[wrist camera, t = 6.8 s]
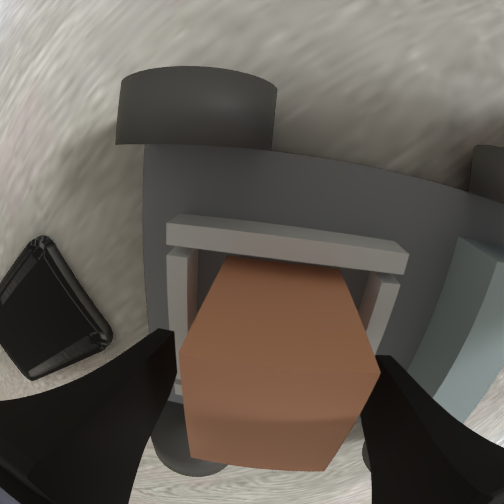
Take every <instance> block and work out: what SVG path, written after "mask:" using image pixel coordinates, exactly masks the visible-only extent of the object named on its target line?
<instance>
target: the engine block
mask: <svg viewBox="0 0 504 504" xmlns="http://www.w3.org/2000/svg"><path fill="white" fill-rule="evenodd" d="M179 364H180V376H181V386H182V395H183V404H184V413H185V421H186V428H187V435H188V442H189V449H190V455H191V457H192V458H196V459H201V460H206V461H211V462H217V463H222V464H229V465H235V466H243V467H251V468H260V469H271V470H286V471H325V469H326V468H327V467H328V465H329V464H330V462H331V461H332V459H333V458H334V456H335V455H336V453H337V451H338V450H339V448H340V447H341V445H342V444H343V442H344V440H345V439H346V437H347V435H348V434H349V432H350V430H351V429H352V427H353V425H354V424H355V422H356V420H357V418H358V416H359V415H360V413H361V411H362V409H363V407H364V405H365V404H366V402H367V400H368V398H369V396H370V394H371V392H372V390H373V388H374V386H375V384H376V382H377V380H378V378H379V376H380V374H381V372H380V369H379V367H378V364H377V361H376V358H375V355H374V353H373V350H372V347H371V345H370V342H369V339H368V337H367V334H366V332H365V329H364V326H363V324H362V321H361V319H360V316H359V314H358V311H357V309H356V306H355V304H354V302H353V299H352V297H351V294H350V292H349V290H348V287H347V285H346V283H345V280H344V278H343V276H342V273H341V271H340V269H337V268H328V267H320V266H311V265H303V264H294V263H286V262H277V261H269V260H261V259H253V258H244V257H236V256H228V255H227V257H226V259H225V261H224V263H223V265H222V267H221V269H220V271H219V273H218V275H217V277H216V278H215V280H214V282H213V284H212V286H211V288H210V290H209V292H208V294H207V296H206V298H205V300H204V302H203V304H202V306H201V308H200V310H199V312H198V314H197V316H196V318H195V320H194V322H193V324H192V326H191V328H190V330H189V332H188V334H187V336H186V338H185V340H184V342H183V344H182V346H181V348H180V350H179Z"/></svg>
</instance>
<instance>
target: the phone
mask: <svg viewBox="0 0 504 504" xmlns="http://www.w3.org/2000/svg"><path fill="white" fill-rule="evenodd" d="M112 338H113V333H112V330H111V327H110V326H109V324H108V323H107V321H106V320H105V319H104V317H103V316H102V315H101V313H100V312H99V311H98V309H97V308H96V306H95V305H94V304H93V302H92V301H91V299H90V298H89V297H88V295H87V294H86V292H85V291H84V289H83V288H82V286H81V285H80V283H79V282H78V280H77V279H76V277H75V276H74V274H73V273H72V271H71V270H70V268H69V266H68V265H67V263H66V262H65V260H64V258H63V257H62V255H61V253H60V252H59V250H58V248H57V247H56V245H55V243H54V242H53V241H52V240H51V239H50V238H49V237H47V236H40V237H37V238H35V239H33V240H32V241H30V242H29V244H28V245H27V246H26V248H25V249H24V250H23V252H22V253H21V254H20V256H19V257H18V258H17V260H16V261H15V263H14V264H13V265H12V267H11V268H10V270H9V271H8V273H7V274H6V276H5V277H4V279H3V280H2V282H1V283H0V344H1V346H2V347H3V349H4V350H5V352H6V353H7V354H8V356H9V357H10V358H11V360H12V361H13V362H14V364H15V365H16V366H17V368H18V369H19V370H20V371H21V373H22V374H23V375H24V376H25V377H26V378H27V379H29V380H31V381H34V380H37V379H39V378H41V377H44V376H46V375H48V374H51V373H53V372H55V371H58V370H60V369H62V368H65V367H67V366H69V365H71V364H74V363H76V362H78V361H80V360H83V359H85V358H87V357H89V356H92V355H94V354H96V353H98V352H101V351H103V350H104V349H105V348H106V347H107V346H108V345H109V344H110V342H111V341H112Z"/></svg>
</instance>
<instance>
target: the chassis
mask: <svg viewBox="0 0 504 504" xmlns="http://www.w3.org/2000/svg"><path fill="white" fill-rule="evenodd" d="M276 97H277V88H276V87H275V86H274V85H273V84H271V83H270V82H268V81H266V80H264V79H262V78H259V77H256V76H253V75H250V74H246V73H242V72H238V71H233V70H228V69H221V68H213V67H200V66H174V67H162V68H155V69H148V70H144V71H140V72H137V73H134V74H131V75H129V76H127V77H125V78H124V79H123V80H122V82H121V90H120V98H119V107H118V117H117V128H116V143H115V145H120V144H145V149H144V169H143V254H144V274H145V289H146V302H147V313H148V323H149V332H150V334H151V333H152V332H153V331H155V330H156V329H158V328H161V329H166V330H171V331H174V333H175V348H176V361H177V375H176V378H175V381H174V385H173V387H172V390H171V393H170V396H169V398H168V400H167V402H166V404H165V406H164V408H163V411H162V413H161V415H160V417H159V419H158V421H157V423H156V425H155V427H154V429H153V431H152V433H151V435H150V436H151V439H152V442H153V445H154V448H155V451H156V454H157V456H158V458H159V459H160V460H161V462H162V463H163V464H164V465H165V466H167V467H168V468H169V469H171V470H173V471H174V472H177V473H179V474H182V475H186V476H192V477H203V476H208V475H212V474H215V473H217V472H219V471H221V470H222V469H224V468H225V467H226V466H227V465H228V464H222V463H217V462H211V461H206V460H201V459H196V458H192V457H191V455H190V449H189V442H188V435H187V428H186V421H185V413H184V404H183V395H182V386H181V376H180V364H179V350H180V348H181V346H182V344H183V342H184V340H185V338H186V336H187V334H188V332H189V330H190V328H191V326H192V324H193V322H194V320H195V318H196V316H197V314H198V312H199V310H200V308H201V306H202V304H203V302H204V300H205V298H206V296H207V294H208V292H209V290H210V288H211V286H212V284H213V282H214V280H215V278H216V277H217V275H218V273H219V271H220V269H221V267H222V265H223V263H224V261H225V259H226V257H227V255H228V256H236V257H244V258H253V259H261V260H269V261H277V262H286V263H294V264H303V265H311V266H320V267H328V268H337V269H340V271H341V273H342V276H343V278H344V280H345V283H346V285H347V287H348V290H349V292H350V294H351V297H352V299H353V302H354V304H355V306H356V309H357V311H358V314H359V316H360V319H361V321H362V324H363V326H364V329H365V332H366V334H367V337H368V339H369V342H370V345H371V347H372V350H373V353H374V355H375V356H376V355H391V356H392V357H393V358H394V359H395V360H396V361H397V362H398V363H399V364H400V365H401V366H402V367H403V368H404V369H405V370H406V371H407V372H408V373H409V374H410V375H411V377H412V378H413V379H414V380H415V381H416V382H417V383H418V384H419V385H420V386H421V387H422V388H423V389H424V390H425V391H426V392H427V393H428V394H429V395H430V396H431V397H432V398H433V399H434V400H435V401H436V402H437V403H438V404H439V405H441V406H442V407H443V408H444V409H445V410H446V411H447V412H448V413H450V414H451V415H452V416H453V417H455V418H456V419H457V420H458V421H460V422H461V423H462V424H463V423H464V422H465V420H466V419H467V418H468V417H469V415H470V414H471V413H472V412H473V410H474V409H475V408H476V406H477V405H478V403H479V402H480V401H481V399H482V398H483V396H484V395H485V394H486V392H487V391H488V389H489V388H490V386H491V385H492V383H493V382H494V380H495V378H496V377H497V375H498V374H499V372H500V370H501V369H502V367H503V365H504V148H501V147H496V146H489V145H477V146H474V151H473V160H472V168H471V175H470V182H469V188H468V192H466V191H463V190H460V189H457V188H453V187H450V186H446V185H443V184H440V183H436V182H432V181H429V180H425V179H421V178H417V177H413V176H409V175H405V174H401V173H397V172H393V171H388V170H384V169H379V168H375V167H370V166H365V165H360V164H355V163H349V162H344V161H338V160H332V159H326V158H320V157H314V156H307V155H300V154H292V153H284V152H276V151H271V145H272V135H273V126H274V116H275V107H276ZM356 422H361V417H360V415H359V416H358V418H357V420H356ZM362 456H363V460H364V463H365V465H366V466H367V468H368V469H369V471H370V472H371V468H370V461H369V456H368V451H367V446H366V441H365V442H364V444H363V448H362Z"/></svg>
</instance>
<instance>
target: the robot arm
mask: <svg viewBox="0 0 504 504" xmlns="http://www.w3.org/2000/svg"><path fill="white" fill-rule="evenodd" d="M375 358H376V361H377V364H378V367H379V369H380V372H381V374H380V376H379V378H378V380H377V382H376V384H375V386H374V388H373V390H372V392H371V394H370V396H369V398H368V400H367V402H366V404H365V405H364V407H363V409H362V411H361V413H360V417H361V422H362V427H363V432H364V437H365V441H366V446H367V451H368V456H369V461H370V468H371V480H372V504H504V448H503V447H501V446H499V445H497V444H495V443H493V442H491V441H489V440H487V439H485V438H483V437H482V436H480V435H479V434H477V433H475V432H474V431H472V430H471V429H469V428H468V427H466V426H465V425H464V424H462V423H461V422H460V421H458V420H457V419H456V418H455V417H453V416H452V415H451V414H450V413H448V412H447V411H446V410H445V409H444V408H443V407H442V406H441V405H439V404H438V403H437V402H436V401H435V400H434V399H433V398H432V397H431V396H430V395H429V394H428V393H427V392H426V391H425V390H424V389H423V388H422V387H421V386H420V385H419V384H418V383H417V382H416V381H415V380H414V379H413V378H412V377H411V375H410V374H409V373H408V372H407V371H406V370H405V369H404V368H403V367H402V366H401V365H400V364H399V363H398V362H397V361H396V360H395V359H394V358H393V357H392V356H391V355H376V356H375ZM176 375H177V361H176V348H175V333H174V331H171V330H166V329H161V328H158V329H156V330H155V331H153V332H152V333H151V334H149V335H148V336H146V337H145V338H144V339H142V340H141V341H139V342H138V343H137V344H135V345H134V346H132V347H131V348H129V349H128V350H126V351H125V352H124V353H122V354H121V355H119V356H118V357H116V358H115V359H113V360H111V361H110V362H108V363H106V364H105V365H103V366H101V367H100V368H98V369H96V370H95V371H93V372H91V373H89V374H87V375H85V376H83V377H81V378H79V379H77V380H74V381H72V382H70V383H68V384H65V385H62V386H60V387H57V388H54V389H51V390H48V391H46V392H42V393H39V394H35V395H32V396H27V397H23V398H18V399H12V400H5V401H0V504H128V503H129V498H130V494H131V491H132V487H133V483H134V480H135V476H136V473H137V470H138V467H139V463H140V460H141V457H142V454H143V451H144V449H145V446H146V444H147V442H148V439H149V437H150V435H151V433H152V431H153V429H154V427H155V425H156V423H157V421H158V419H159V417H160V415H161V413H162V411H163V408H164V406H165V404H166V402H167V400H168V398H169V396H170V393H171V390H172V387H173V385H174V381H175V378H176Z"/></svg>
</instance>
